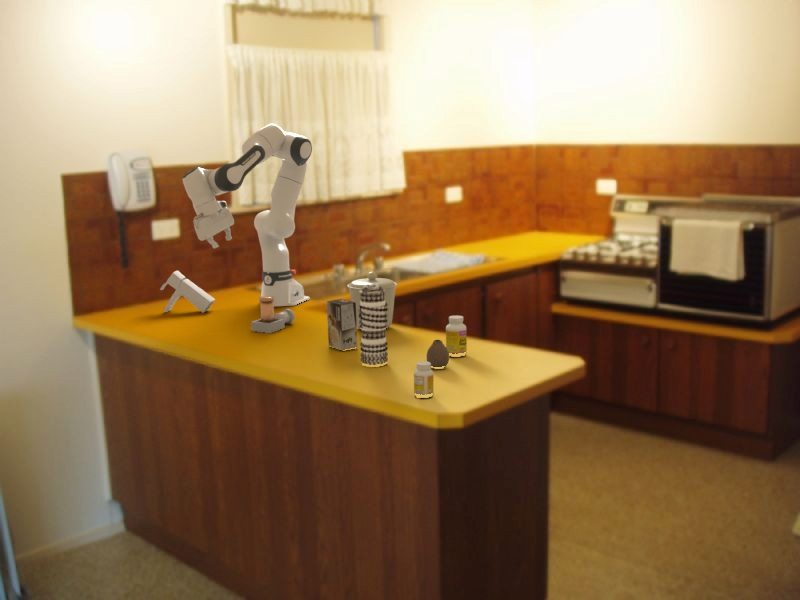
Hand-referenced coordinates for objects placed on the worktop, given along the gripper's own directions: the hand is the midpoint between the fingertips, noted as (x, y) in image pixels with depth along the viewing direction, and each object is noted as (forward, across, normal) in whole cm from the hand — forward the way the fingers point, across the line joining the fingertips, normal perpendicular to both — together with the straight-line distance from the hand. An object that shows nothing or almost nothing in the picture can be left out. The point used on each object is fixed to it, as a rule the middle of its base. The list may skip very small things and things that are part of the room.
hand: (223, 243), depth 356 cm
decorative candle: (+47, -44, -70) cm, 95 cm away
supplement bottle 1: (+51, -71, -97) cm, 131 cm away
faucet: (+22, +6, +36) cm, 43 cm away
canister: (+48, +1, -46) cm, 67 cm away
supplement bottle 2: (+56, -26, -88) cm, 108 cm away
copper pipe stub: (+34, -13, -12) cm, 38 cm away
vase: (+54, -42, -89) cm, 112 cm away
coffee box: (+44, -29, -50) cm, 73 cm away
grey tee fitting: (+35, -9, -13) cm, 38 cm away
